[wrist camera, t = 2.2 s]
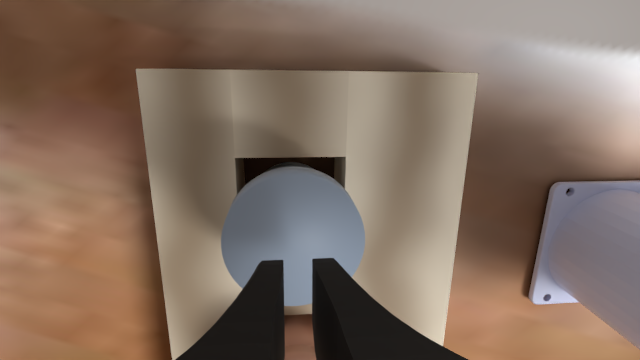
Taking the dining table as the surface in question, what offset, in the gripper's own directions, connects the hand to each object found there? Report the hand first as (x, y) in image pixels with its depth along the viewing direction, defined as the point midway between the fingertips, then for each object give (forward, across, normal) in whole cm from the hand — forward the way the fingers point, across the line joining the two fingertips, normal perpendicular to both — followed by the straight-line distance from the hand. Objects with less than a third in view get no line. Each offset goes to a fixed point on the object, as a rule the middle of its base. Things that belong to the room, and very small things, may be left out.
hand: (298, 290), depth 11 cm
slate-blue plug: (+8, 0, 0) cm, 8 cm away
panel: (+10, -1, +8) cm, 13 cm away
